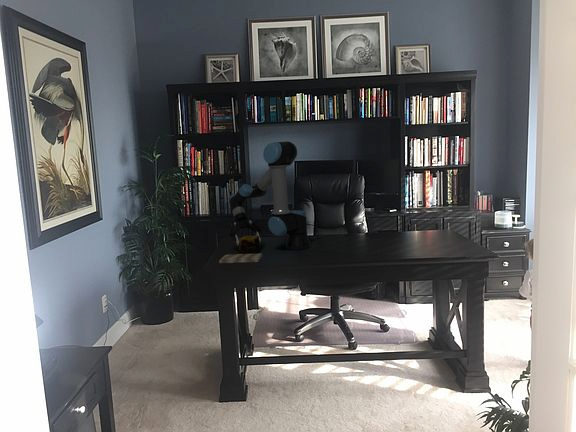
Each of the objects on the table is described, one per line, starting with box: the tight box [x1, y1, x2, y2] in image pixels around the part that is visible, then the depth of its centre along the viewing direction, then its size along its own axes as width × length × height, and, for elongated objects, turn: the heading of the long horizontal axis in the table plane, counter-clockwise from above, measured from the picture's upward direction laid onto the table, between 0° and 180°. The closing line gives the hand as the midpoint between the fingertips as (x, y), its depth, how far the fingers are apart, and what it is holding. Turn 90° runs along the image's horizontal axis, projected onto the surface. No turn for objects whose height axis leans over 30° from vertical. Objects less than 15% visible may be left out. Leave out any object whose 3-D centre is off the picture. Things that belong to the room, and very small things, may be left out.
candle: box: [238, 235, 261, 254], centre depth 297 cm, size 10×10×10 cm
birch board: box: [218, 252, 263, 264], centre depth 283 cm, size 22×14×2 cm, turn 82°
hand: (249, 243), depth 298 cm, fingers open, 13 cm apart
